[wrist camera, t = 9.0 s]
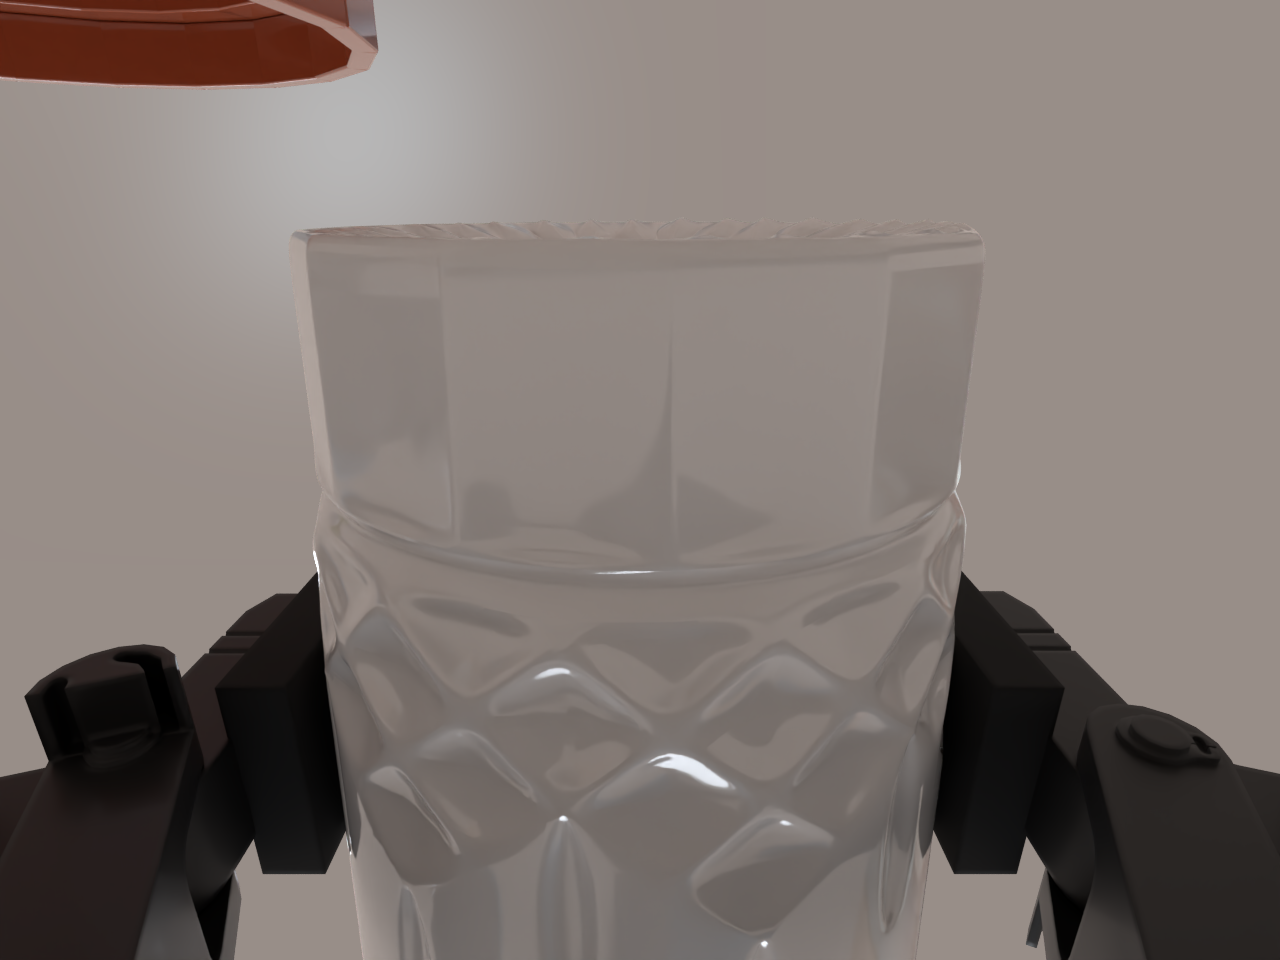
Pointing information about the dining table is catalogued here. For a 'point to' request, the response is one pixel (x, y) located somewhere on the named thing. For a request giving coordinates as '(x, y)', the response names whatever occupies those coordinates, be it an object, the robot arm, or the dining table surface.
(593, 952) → the white cup
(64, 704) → the robot arm
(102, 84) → the bowl
